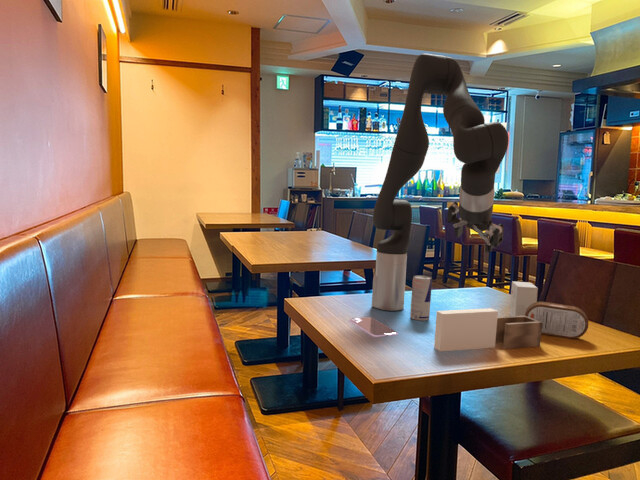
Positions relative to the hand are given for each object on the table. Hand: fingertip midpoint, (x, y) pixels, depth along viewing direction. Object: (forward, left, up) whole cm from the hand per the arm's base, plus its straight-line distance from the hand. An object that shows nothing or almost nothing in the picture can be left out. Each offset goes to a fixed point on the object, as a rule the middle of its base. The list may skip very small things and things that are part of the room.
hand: (473, 242), depth 120 cm
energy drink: (-14, +8, -24) cm, 29 cm away
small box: (+13, +23, -24) cm, 36 cm away
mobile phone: (-23, -7, -25) cm, 35 cm away
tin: (+21, +11, -24) cm, 34 cm away
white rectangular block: (+1, -11, -24) cm, 27 cm away
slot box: (+11, -2, -24) cm, 27 cm away
